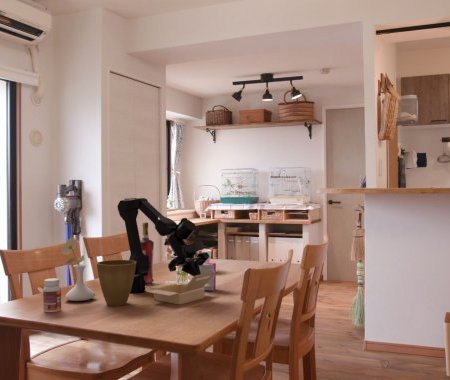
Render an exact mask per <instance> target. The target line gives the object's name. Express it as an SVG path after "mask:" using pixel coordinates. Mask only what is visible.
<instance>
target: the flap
mask: <svg viewBox="0 0 450 380" xmlns="http://www.w3.org/2000/svg"><path fill="white" fill-rule="evenodd" d="M215 273H217V270H216V271H214V272H209V273H205V274H200V275H196V276H192V279H190V281H188V282H189V283H188V284H187V285H186V286H185V288H184V289H183V290H182V292H186V291H190V290H194V289H198V288H202V287H204V286H205V284H206V283H207V282H208V281H209V280H210V279H211V278H212V277H213V275H214V274H215Z"/></svg>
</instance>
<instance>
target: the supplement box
mask: <svg viewBox="0 0 450 380" xmlns="http://www.w3.org/2000/svg"><path fill="white" fill-rule="evenodd" d="M216 264H217V263H216V262H209V263H204V264H203V265H201V266H200V272H201V274H205V273H209V272H214V271H216V273H217V269H216V267H217V265H216ZM216 273H215V274H214V275H213V277H212V278H211V279H210V280H209V281H208V282H207V283H206V284H208V285H211V286H207V287H203V288H204V292H213V291H215V290H216V280H217V279H216V276H217V275H216Z"/></svg>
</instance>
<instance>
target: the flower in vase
mask: <svg viewBox="0 0 450 380" xmlns="http://www.w3.org/2000/svg"><path fill="white" fill-rule="evenodd" d="M77 245H78V240H77V239H76V238H75V237H72V238H68V239H67V240H66V242H65V243H63V246H62V247H61V249H60V251H61V254H62V255H64V256H68V255H70V254H71V253H73V256H74V257H71V258H69V259H68V260H67V261H66V264H72V263H74V262H75V261H76V263H77V264H73V266H72V267H74V269H75V271H76V284H75V286H73V287H72V288H71V289H70V290H69V291H68V292H67V293H66V294H65V299H66V300H68V301H73V302H82V301H89V300H92V299H93V298H95V296H96V294H95V292H94V291H93V290H92V289H91V288H89V287H88V286H87V285H86V284H85V282H84V271H85V269H86V267H87V264H84V263H83V264H81V263H82V262H83V261H84V260H85V256H84V255H82V256H80V257H78V258H76V254H75V252H74V250H75V248H77ZM79 263H80V264H79Z"/></svg>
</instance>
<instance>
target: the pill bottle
mask: <svg viewBox="0 0 450 380" xmlns="http://www.w3.org/2000/svg"><path fill="white" fill-rule="evenodd" d="M42 289H43V290H42V291H43V292H42V293H43V294H42V295H43V312H45V313H57V312H60V311H61V310H62V286H60V278H56V277H55V278H54V277H53V278H46V279H44V287H43V288H42Z"/></svg>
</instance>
